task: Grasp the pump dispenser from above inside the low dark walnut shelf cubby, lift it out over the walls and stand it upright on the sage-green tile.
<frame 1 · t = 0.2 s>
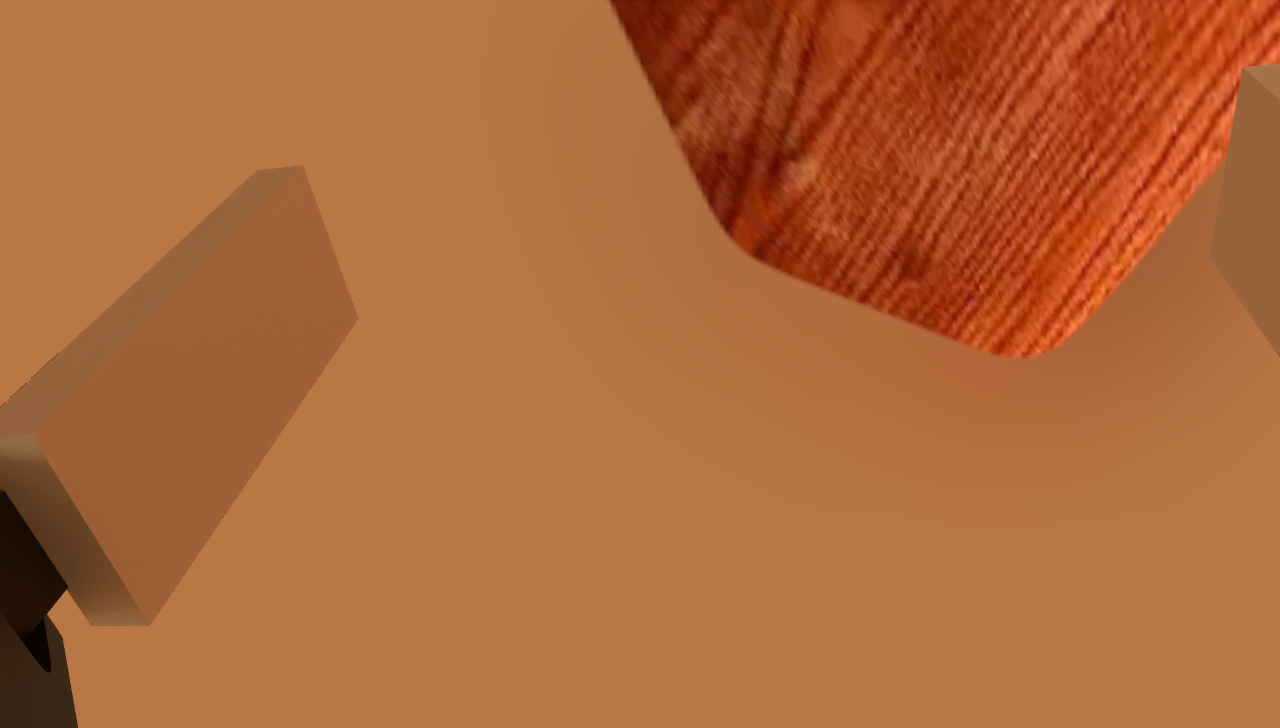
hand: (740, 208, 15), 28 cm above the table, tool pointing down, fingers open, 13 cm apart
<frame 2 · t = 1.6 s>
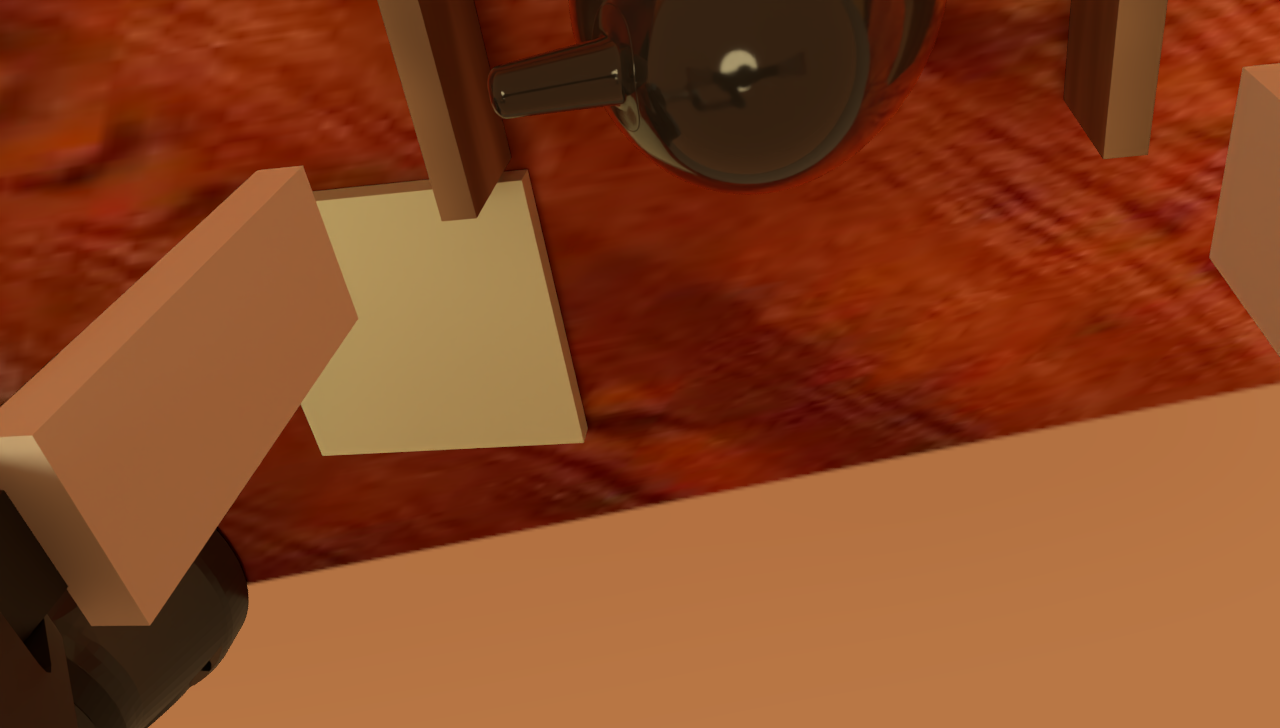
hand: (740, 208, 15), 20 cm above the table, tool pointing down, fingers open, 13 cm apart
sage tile: (418, 320, 41), on the table
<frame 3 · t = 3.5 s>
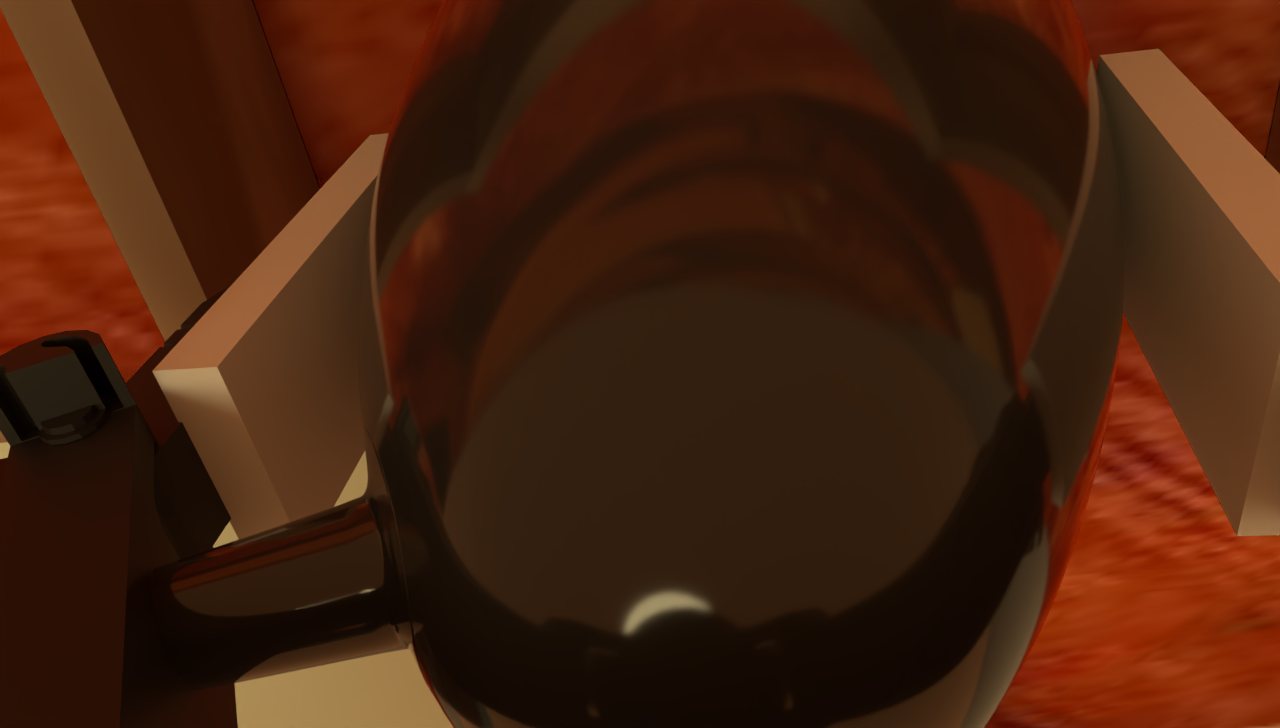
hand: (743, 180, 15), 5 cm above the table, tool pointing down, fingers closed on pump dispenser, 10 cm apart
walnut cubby: (744, 28, 19), on the table
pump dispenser: (746, 74, 19), on the table, touching gripper
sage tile: (278, 574, 29), on the table
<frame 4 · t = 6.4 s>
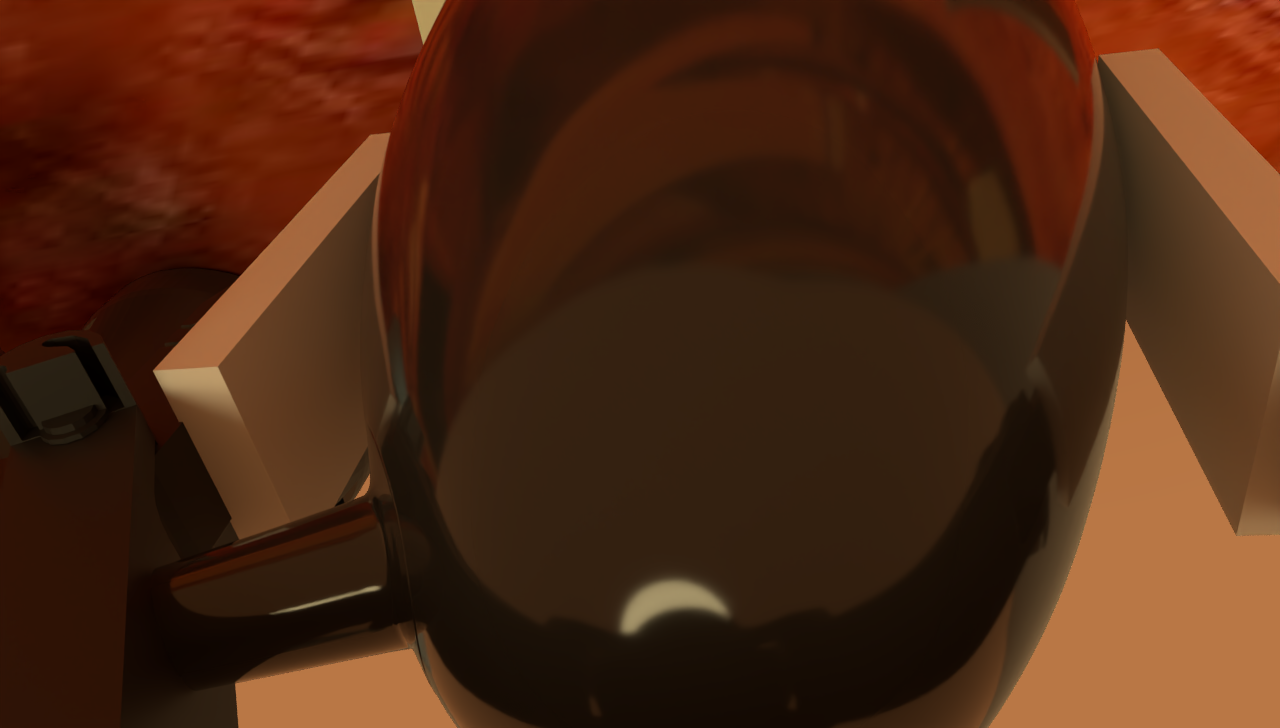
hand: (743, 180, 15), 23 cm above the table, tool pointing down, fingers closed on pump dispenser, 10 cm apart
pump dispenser: (748, 73, 19), point 18 cm above the table, touching gripper
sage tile: (598, 121, 40), on the table
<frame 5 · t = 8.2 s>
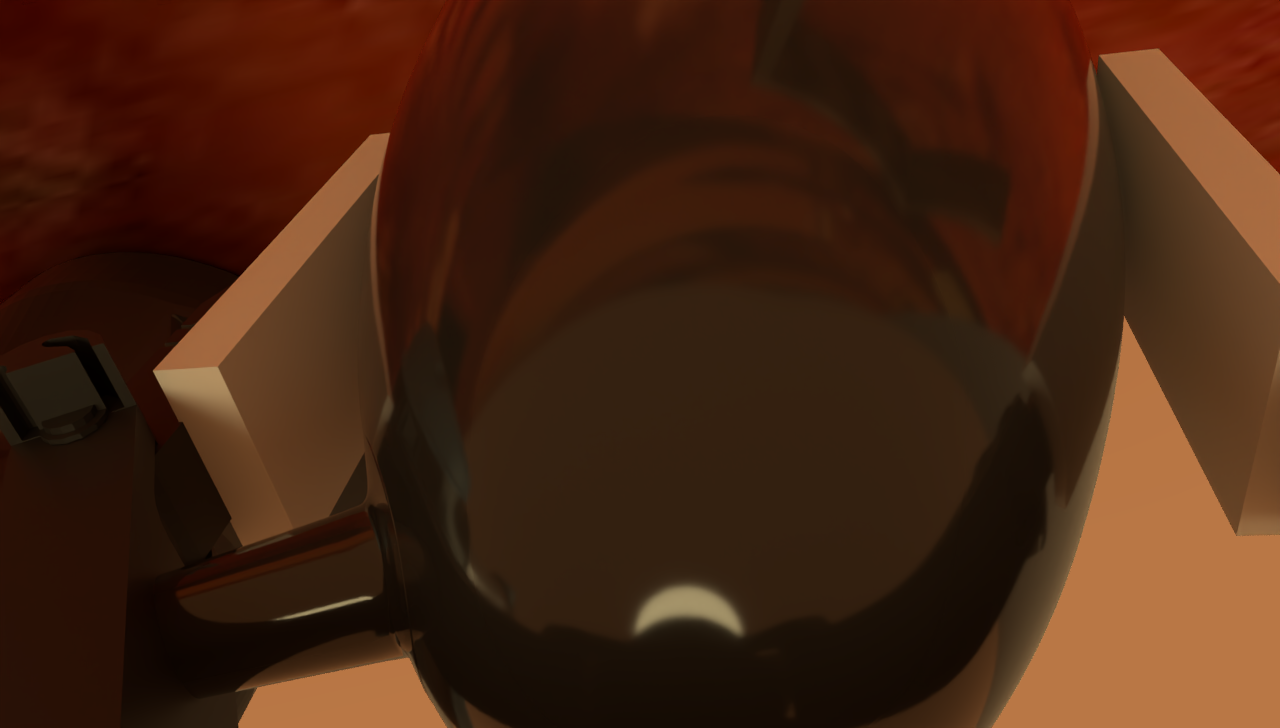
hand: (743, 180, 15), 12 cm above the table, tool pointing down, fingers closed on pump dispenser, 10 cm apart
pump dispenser: (746, 78, 19), point 7 cm above the table, touching gripper
when the fingers open (7 cm above the table, at t = 9.8 s): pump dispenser stays where it is, resting on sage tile.
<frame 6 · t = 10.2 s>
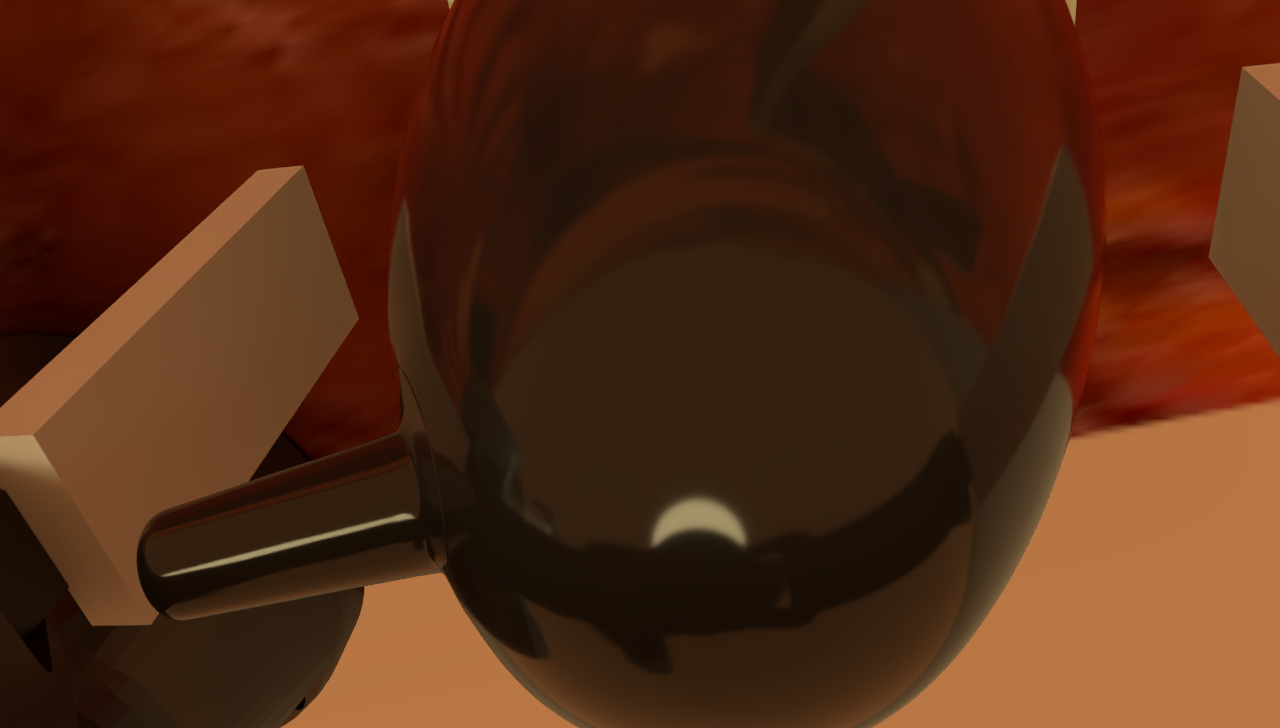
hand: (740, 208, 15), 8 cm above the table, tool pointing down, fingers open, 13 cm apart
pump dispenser: (749, 60, 20), point 1 cm above the table, touching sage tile
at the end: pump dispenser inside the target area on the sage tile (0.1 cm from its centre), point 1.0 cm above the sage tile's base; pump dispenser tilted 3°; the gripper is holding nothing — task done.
